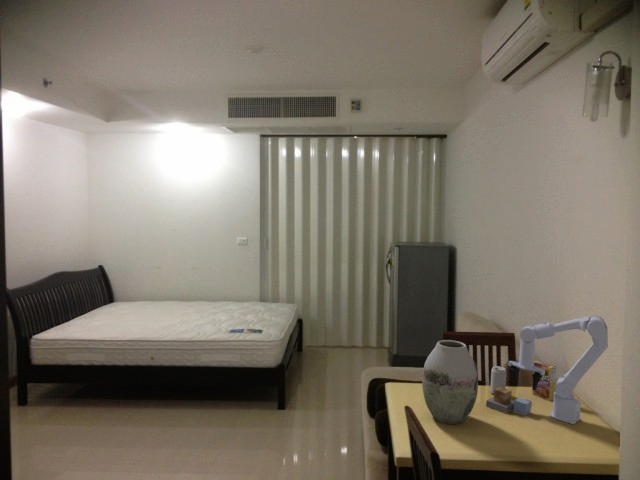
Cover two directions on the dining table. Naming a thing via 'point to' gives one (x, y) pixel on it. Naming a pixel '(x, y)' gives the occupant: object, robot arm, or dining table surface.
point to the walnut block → (502, 395)
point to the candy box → (546, 381)
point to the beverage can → (497, 378)
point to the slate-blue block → (522, 406)
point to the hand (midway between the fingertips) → (525, 386)
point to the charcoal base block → (500, 405)
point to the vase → (450, 382)
